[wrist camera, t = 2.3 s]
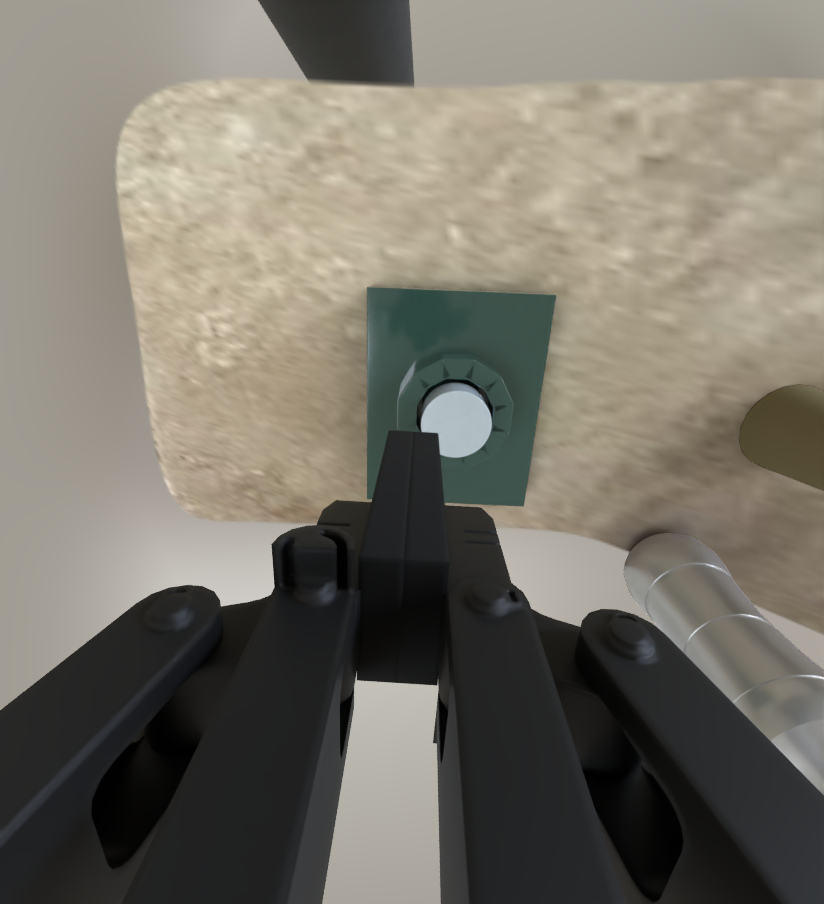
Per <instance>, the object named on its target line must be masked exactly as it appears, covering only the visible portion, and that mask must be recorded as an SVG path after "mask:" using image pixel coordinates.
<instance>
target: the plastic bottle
mask: <svg viewBox="0 0 824 904" xmlns="http://www.w3.org/2000/svg"><path fill="white" fill-rule="evenodd" d="M624 577H625V581H626V584H627V587H628V589H629V592H630V594H631V596H632V598H633V600H634V601H635V602H636V603H637V604H638V605H639V607H640V608H641V609H642V610H643V611H644V612H645V613H646V614H647V615H648V616H649V617H650V618H651V619H652V620H653V621H654V622H655V623H656V624H657V625H658V627H659V628H660V629H661V631H662V632H663V633H664V634H666V635H667V636H668V637H669V638H670V639H671V640H672V641H673V642H674V643H675V645H676V646H677V647H678V648H679V649H680V650H681V651H682V652H683V653H684V654H685V655H686V656H687V657H688V658H689V659H690V660H691V661H692V662H693V663H694V664H695V665H696V666H697V667H698V668H699V669H700V670H701V671H702V672H703V673H704V674H705V675H706V676H707V677H708V678H709V679H710V680H711V681H712V682H713V683H714V684H715V685H716V686H717V687H718V688H719V689H720V690H721V691H722V692H723V693H724V694H725V695H726V696H727V697H728V698H729V699H730V700H731V701H732V702H733V703H734V705H735V706H736V707H737V708H738V709H739V710H740V711H741V712H742V713H743V714H744V715H745V716H746V717H747V718H748V719H749V720H750V721H751V722H752V723H753V724H754V725H755V726H756V727H757V728H758V729H759V730H760V731H761V732H762V733H763V734H764V735H765V736H766V737H767V738H768V739H769V740H770V741H771V742H772V743H773V744H774V745H775V746H776V747H777V748H778V749H779V750H780V751H781V752H782V753H783V754H784V755H785V756H786V757H787V758H788V759H789V760H790V761H791V762H792V763H793V765H794V766H795V767H796V768H797V769H798V770H799V771H800V772H801V773H802V774H803V775H804V776H805V777H806V778H807V779H808V780H809V781H810V782H811V783H812V784H813V785H814V786H815V787H816V788H817V789H818V790H819V791H820V792H821V793H822V794H823V795H824V669H822V668H821V667H820V666H819V665H817V664H816V663H815V662H813V661H812V660H811V659H810V658H809V657H807V656H806V655H805V654H803V653H802V652H801V651H800V650H799V649H798V648H797V647H796V646H795V645H793V644H792V643H791V642H790V641H789V640H788V639H787V638H786V637H785V636H784V635H783V634H782V633H781V632H779V630H777V629H775V627H774V626H773V625H772V624H771V623H770V622H769V621H768V620H767V619H766V618H765V617H764V616H763V615H761V614H760V613H759V612H758V610H757V609H756V608H755V606H754V605H753V604H752V603H751V601H750V600H749V599H748V598H747V596H746V595H745V594H744V593H743V592H742V590H741V589H740V588H739V587H738V585H737V584H736V583H735V581H734V579H733V577H732V576H731V574H730V572H729V570H728V569H727V568H726V566H725V565H724V563H723V562H722V561H721V559H720V558H719V557H718V556H717V554H716V553H715V552H714V551H713V550H711V549H710V548H709V547H707V546H706V545H704V544H703V543H701V542H700V541H698V540H697V539H695V538H693V537H690V536H688V535H684V534H677V533H661V534H656V535H652V536H650V537H647V538H645V539H644V540H642V541H640V542H639V543H638V544H637V545H635V546H634V547H633V549H632V550H631V551H630V553H629V555H628V557H627V559H626V562H625V566H624Z"/></svg>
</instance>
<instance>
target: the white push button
mask: <svg viewBox="0 0 824 904" xmlns="http://www.w3.org/2000/svg"><path fill="white" fill-rule="evenodd" d="M491 427H492V420H491V415H490V412H489V409H488V407H487V405H486V403H485V400H484V399H483V397H482V395H481V394H480V393H479V392H478V391H477V390H476V389H475V388H473V387H471V386H469V385H467V384H464V383H458V382H452V383H446V384H443V385H441V386H439V387H437V388H435V389H434V390H433V391H432V392H431V393H430V394H429V395H428V396H427V397H426V399H425V401H424V403H423V406H422V411H421V431H422V432H430V433H438V436H439V447H440V455H443V456H446V457H452V458H459V457H464V456H468V455H470V454H472V453H474V452H476V451H477V450H479V449H480V448H481V447H482V446H483V445H484V444H485V442H486V441H487V439H488V437H489V435H490V432H491Z"/></svg>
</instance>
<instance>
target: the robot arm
mask: <svg viewBox="0 0 824 904" xmlns="http://www.w3.org/2000/svg"><path fill="white" fill-rule="evenodd" d="M499 543H500V542H499V538H498V535H497V532H496V528H495V524H494V521H493V519H492V518H491V517H490V516H489V515H488V514H487V513H486V512H485V511H484V510H483V509H482V508H478V507H462V506H445V503H444V492H443V481H442V470H441V458H440V447H439V436H438V433H430V432H414V431H397V430H389V431H388V436H387V440H386V444H385V448H384V452H383V456H382V461H381V465H380V469H379V473H378V477H377V481H376V486H375V490H374V494H373V498H372V502H355V501H339V500H336V501H334V502H333V503H332V504H330V505H329V506H328V507H326V508H325V509H324V510H323V511H322V513H321V516H320V518H319V520H318V523H317V525H312V526H304V527H300V528H296V529H292V530H290V531H288V532H286V533H284V534H282V535H280V536H279V537H278V538H277V539H276V540H275V541H274V542H273V543H272V556H273V568H274V569H273V570H274V584H275V588H274V590H273V592H272V594H271V595H270V596H268V597H265V598H263V599H260V600H255V601H252V602H248V603H240V604H234V605H228V606H223V607H221V606H220V600H219V598H218V597H217V596H216V594H215V592H214V591H212V590H209V589H207V588H205V587H203V586H192V585H185V586H179V587H172V588H167V589H165V590H162V591H159V592H156V593H154V594H151V595H150V596H148V597H146V598H145V599H143V600H141V601H140V602H138V603H136V604H135V605H134V606H133V607H131V608H130V609H129V610H128V611H126V612H125V613H124V614H122V615H121V616H120V617H119V618H117V619H116V620H115V621H113V622H112V623H111V624H110V625H108V626H107V627H106V628H105V629H103V630H102V631H101V632H100V633H98V634H97V635H96V636H94V637H93V638H92V639H91V640H89V641H88V642H87V643H86V644H84V645H83V646H82V647H80V648H79V649H78V650H77V651H75V652H74V653H73V654H71V655H70V656H69V657H68V658H66V659H65V660H64V661H63V662H61V663H60V664H59V665H58V666H56V667H55V668H54V669H53V670H51V671H50V672H49V673H47V674H46V675H45V676H44V677H42V678H41V679H40V680H39V681H37V682H36V683H35V684H33V685H32V686H31V687H30V688H28V689H27V690H26V691H25V692H23V693H22V694H21V695H19V696H18V697H17V698H16V699H14V700H13V701H12V702H11V703H9V704H8V705H7V706H5V707H4V708H3V709H2V710H0V904H322V900H323V894H324V888H325V882H326V876H327V869H328V863H329V857H330V851H331V845H332V838H333V832H334V827H335V820H336V814H337V808H338V802H339V795H340V790H341V783H342V777H343V771H344V765H345V758H346V753H347V746H348V740H349V734H350V728H351V722H352V716H353V709H354V683H355V678H356V672H357V680H362V681H377V682H393V683H409V684H425V685H437V682H438V684H439V693H438V702H437V712H436V721H435V730H434V740H433V743H437V760H438V802H439V844H440V882H441V883H440V886H441V904H824V795H823V794H822V793H821V792H820V791H819V790H818V789H817V788H816V787H815V786H814V785H813V784H812V783H811V782H810V781H809V780H808V779H807V778H806V777H805V776H804V775H803V774H802V773H801V772H800V771H799V770H798V769H797V768H796V767H795V766H794V765H793V763H792V762H791V761H790V760H789V759H788V758H787V757H786V756H785V755H784V754H783V753H782V752H781V751H780V750H779V749H778V748H777V747H776V746H775V745H774V744H773V743H772V742H771V741H770V740H769V739H768V738H767V737H766V736H765V735H764V734H763V733H762V732H761V731H760V730H759V729H758V728H757V727H756V726H755V725H754V724H753V723H752V722H751V721H750V720H749V719H748V718H747V717H746V716H745V715H744V714H743V713H742V712H741V711H740V710H739V709H738V708H737V707H736V706H735V705H734V703H733V702H732V701H731V700H730V699H729V698H728V697H727V696H726V695H725V694H724V693H723V692H722V691H721V690H720V689H719V688H718V687H717V686H716V685H715V684H714V683H713V682H712V681H711V680H710V679H709V678H708V677H707V676H706V675H705V674H704V673H703V672H702V671H701V670H700V669H699V668H698V667H697V666H696V665H695V664H694V663H693V662H692V661H691V660H690V659H689V658H688V657H687V656H686V655H685V654H684V653H683V652H682V651H681V650H680V649H679V648H678V647H677V646H676V645H675V643H674V642H673V641H672V640H671V639H670V638H669V637H668V636H667V635H666V634H664V633H663V632H662V631H661V630H659V629H658V628H657V627H656V626H654V625H653V624H652V623H650V622H648V621H646V620H644V619H642V618H640V617H638V616H636V615H634V614H630V613H627V612H623V611H620V610H611V609H600V610H597V611H594V612H591V613H589V614H588V615H587V616H586V617H585V618H584V619H583V620H582V624H581V627H578V626H575V625H572V624H568V623H565V622H562V621H558V620H555V619H552V618H549V617H547V616H544V615H542V614H540V613H538V612H536V611H534V610H533V609H531V607H530V604H529V602H528V600H527V598H526V597H525V595H524V593H523V592H522V591H521V590H519V589H518V588H517V587H516V586H514V585H513V584H512V583H511V580H510V577H509V573H508V570H507V567H506V563H505V560H504V556H503V552H502V549H501V546H500V544H499Z"/></svg>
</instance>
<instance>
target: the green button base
mask: <svg viewBox="0 0 824 904" xmlns="http://www.w3.org/2000/svg"><path fill="white" fill-rule="evenodd" d="M555 300H556V295H554V294H549V293H530V292H506V291H482V290H458V289H434V288H410V287H386V286H370V287H367V499H372V498H373V494H374V490H375V486H376V481H377V477H378V473H379V469H380V465H381V461H382V456H383V452H384V448H385V444H386V440H387V436H388V431H389V430H397V431H414V432H422V431H421V411H422V406H423V403H424V401H425V399H426V397H427V396H428V395H429V394H430V393H431V392H432V391H433V390H434V389H435V388H437V387H439V386H441V385H443V384H446V383H452V382H458V383H464V384H467V385H469V386H471V387H473V388H475V389H476V390H477V391H478V392H479V393H480V394H481V395H482V397H483V399H484V400H485V403H486V405H487V407H488V409H489V412H490V415H491V420H492V427H491V432H490V435H489V437H488V439H487V441H486V442H485V444H484V445H483V446H482V447H481V448H480V449H479V450H477V451H476V452H474V453H472V454H470V455H468V456H464V457H459V458H452V457H446V456H443V455H440V458H441V470H442V481H443V492H444V503H462V504H483V505H504V506H524V501H525V495H526V488H527V482H528V475H529V469H530V462H531V456H532V449H533V443H534V436H535V430H536V423H537V417H538V410H539V404H540V397H541V391H542V384H543V378H544V371H545V365H546V358H547V352H548V345H549V339H550V332H551V326H552V319H553V313H554V306H555Z"/></svg>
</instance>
